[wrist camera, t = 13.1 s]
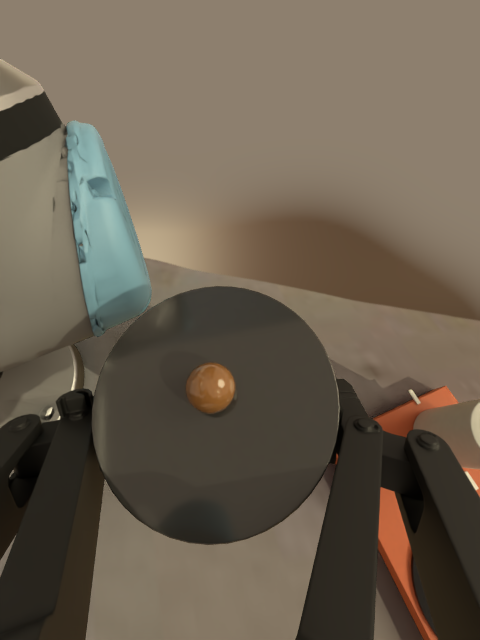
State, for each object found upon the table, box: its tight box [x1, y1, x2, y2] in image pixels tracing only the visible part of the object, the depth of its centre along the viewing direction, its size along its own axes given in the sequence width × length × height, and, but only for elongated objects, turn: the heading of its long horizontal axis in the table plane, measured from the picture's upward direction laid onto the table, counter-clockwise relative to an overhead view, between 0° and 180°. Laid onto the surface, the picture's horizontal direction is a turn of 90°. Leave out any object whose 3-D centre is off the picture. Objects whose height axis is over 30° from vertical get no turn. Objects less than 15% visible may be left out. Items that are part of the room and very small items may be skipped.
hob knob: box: [413, 399, 480, 470], centre depth 21 cm, size 5×5×8 cm
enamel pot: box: [92, 286, 340, 545], centre depth 13 cm, size 8×8×11 cm
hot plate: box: [335, 386, 480, 640], centre depth 24 cm, size 19×14×2 cm
